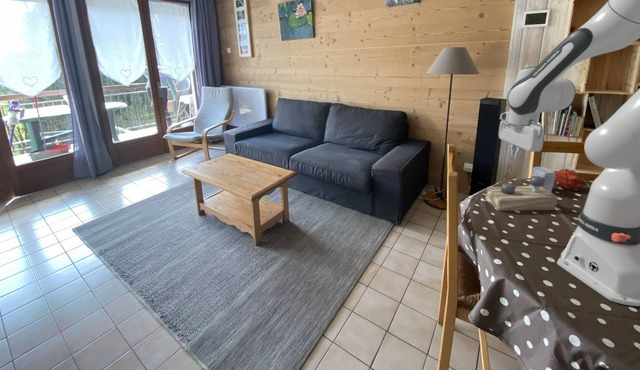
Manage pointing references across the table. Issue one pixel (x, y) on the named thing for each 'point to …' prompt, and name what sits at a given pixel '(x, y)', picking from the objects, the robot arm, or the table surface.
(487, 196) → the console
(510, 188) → the knob left
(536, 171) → the medicine box
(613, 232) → the robot arm
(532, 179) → the knob right
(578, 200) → the table surface
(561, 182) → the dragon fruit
